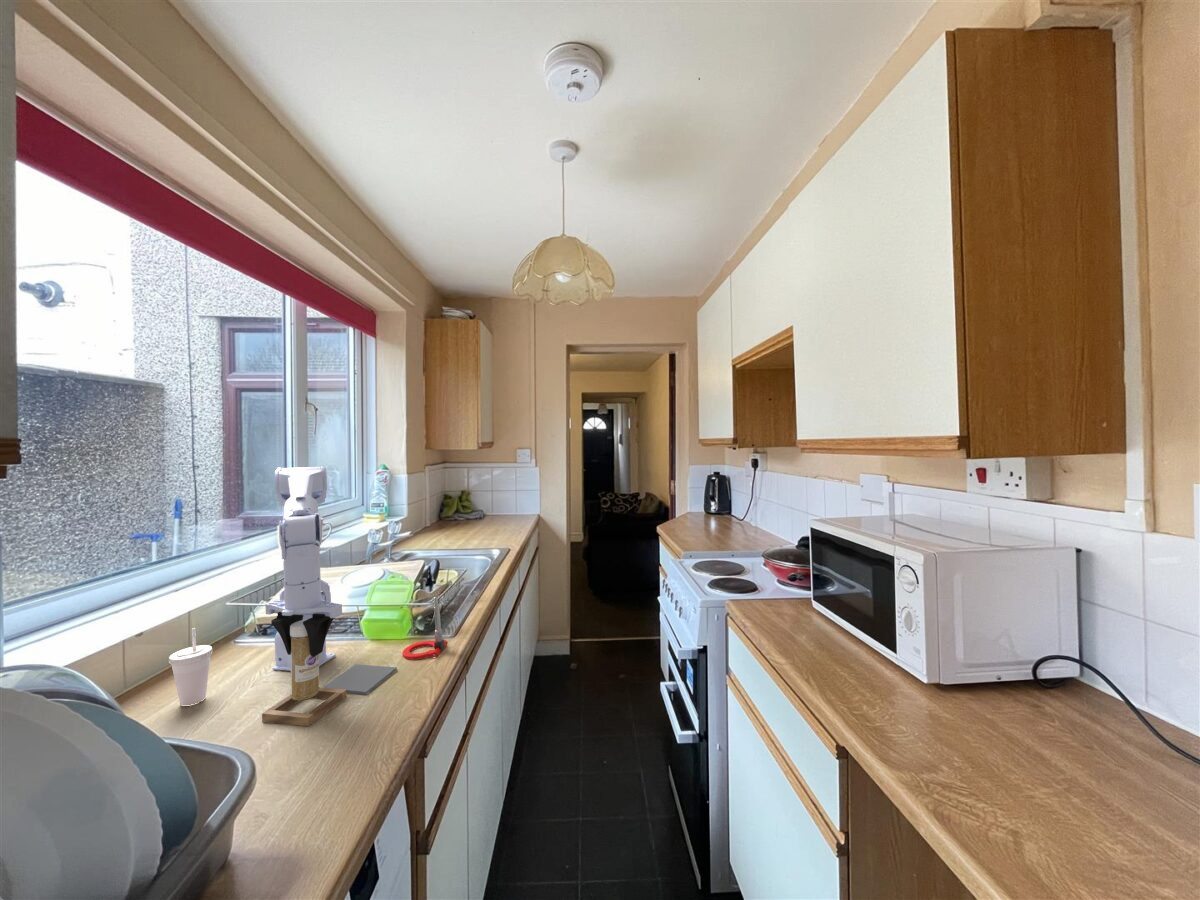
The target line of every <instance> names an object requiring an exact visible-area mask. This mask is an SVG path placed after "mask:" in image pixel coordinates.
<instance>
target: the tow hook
mask: <svg viewBox="0 0 1200 900" xmlns="http://www.w3.org/2000/svg"><path fill="white" fill-rule="evenodd" d="M433 599H434V600H433V601H434V602H433V603H434V606H433V611H434V612H433V613H434V624H435V630H434V640H424V641H419V642H415V643H412V644H410V645H408V646H406V647H405V648H404V649H403V650H402V652H401V653H402V658H404V659H405V660H412V659H413V660H420V659H421V658H422V659H424V658H432V657H436V658H437V657H438V656H439V655H441V653H442V652H443V651H444V650H445V648H446V647H447V646H448V645H449V643H448V642H449V641H448V640H445V639H444V638H443V629H442V628H441V627H442V625H441V614H440V605H439V599H438V596H434V597H433ZM423 646H424V647H432V648H433V649H429V650H427V651H424V652H419V653H413V652H412V651H414V650H416V649H418V647H419V648H423ZM415 648H416V649H415ZM413 649H414V650H413Z"/></svg>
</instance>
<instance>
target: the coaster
mask: <svg viewBox="0 0 1200 900" xmlns="http://www.w3.org/2000/svg"><path fill="white" fill-rule="evenodd" d="M397 670H398V668H397V667H396V666H386V665H385V666H383V665H371V664H370V665H369V664H358V663H355V664H354V665H352V666H351V667H349V668H348V669H346V670H345V671H343V672H342V673H340V674H339V675H338V676H336V677H335V678H334V679H332V680H330V681H329V682H328V683H326V684H325V685H323V686H322V688H334V689H346V694H350V695H352V694H353V695H364V696H367V695H368V694H369V693H371V692H372V691H373V690H374V689H376V688H377V687H378V686H379V685H380V684H382V683H383V682H384V681H386V679H388V678H389V677H390V676H391V675H393V674H394V673H395V672H396V671H397Z"/></svg>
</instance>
